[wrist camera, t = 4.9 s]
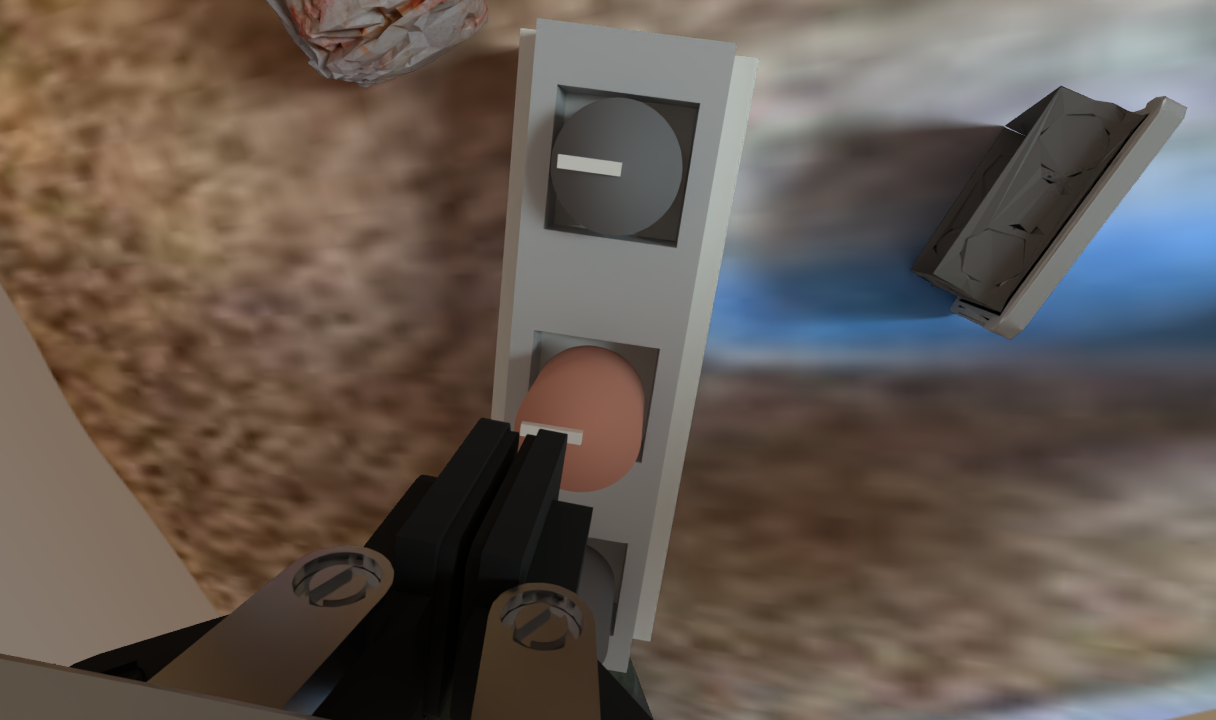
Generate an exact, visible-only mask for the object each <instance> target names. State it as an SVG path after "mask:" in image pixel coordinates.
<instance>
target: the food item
mask: <svg viewBox="0 0 1216 720" xmlns="http://www.w3.org/2000/svg"><path fill="white" fill-rule="evenodd" d="M267 2H268V3H269V4H270V5H271V6H272V8H273V9H274V10H275V12H276V13H277V14H278V16H279V18H280V20H281V21H282V23H283V25H284V27H285V28H286V30H287V32H288V33H289V35H290V36H291V38H292V39H293V40H294V42H295V43H296V44H297V45H298V46H299V47H300V48H301V49H302V51H303V52H304V53H305V54H306V55H307V56H308V57H309V58H310V61H309V62H308V64H309V65H310V66H311V67H312V68H314V69H315V70H316V71H317V72H318V73H319V74H320V75H321V76H323V77H326V78H328V79H329V78H332V79H336V80H338V79H341V80H344V81H347V82H348V81H349V82H356V83H357V84H358V85H359V86H362V87H366V88H367V87H370V86H372V85H373V84H374V83H380V82H382V81H385V80H389V79H393V78H396V77H397V76H399V75H401V74H405V73H409V72H412V71H414V70H416V69H418V68H420V67H422V66H424V65H426V64H428V63H430V62H432V61H434V60H436V59H437V58H439V57H440V56H441V55H442V54H444V53H445V52H447V51H448V50H450V49H451V48H453V47H454V46H456V45H457V44H459V43H460V42H462V41H464V40H466V39H468V38H470V37H471V36H472V35H473V34H474V33H475V32H476V31H478V30H479V29H480V28H481V27H482V26H483V25H484V24H485V23H486V22H487V21H488V20H487V11H488V8H487V5H486V2H485V0H267Z"/></svg>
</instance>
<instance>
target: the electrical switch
mask: <svg viewBox="0 0 1216 720" xmlns="http://www.w3.org/2000/svg"><path fill="white" fill-rule="evenodd" d="M1186 110H1187V107H1185V106H1183V105H1181V104H1179V103H1177V102H1175V101H1174V100H1172V99H1170V98H1168V97H1166V96H1163V97H1156V98H1154V99H1153V100H1151V101H1150V102H1148V103H1147V105H1146V108H1144V109H1142V110H1139V111H1136V112H1130V111H1127V110H1125V109H1123V108H1121V107H1120V106H1118V105H1116V104H1114V103H1109V102H1102V101H1095V100H1093V99H1090V98H1088V97H1086V96H1084V95H1081V94H1079V93H1077V92H1074V91H1072V90H1070V89H1067V88H1065V87H1063V86H1060V87H1059V88H1057V89H1056V90H1054V91H1053V92H1052V93H1050V94H1049V95H1047V96H1046V97H1045V98H1043V99H1042V100H1040V101H1039V102H1038V103H1036V104H1035V105H1033V106H1032V107H1031V108H1029V109H1028V110H1026V111H1025V112H1024V113H1022V114H1021V115H1019V116H1018V117H1017V118H1015V119H1014V120H1012V121H1011V122H1010V123H1008V124H1007V125H1005V126H1006V127H1009V128H1011V129H1013V130H1015V131H1017V132H1019V133H1021V134H1023V135H1021V134H1019V133H1017V132H1014V131H1012V130H1009V129H1007V128H1005V129H1004V130H1003V131H1002V133H1001V134H1000V136H999V137H998V139H997V140H996V142H995V143H994V145H993V146H992V148H991V149H990V151H989V152H988V154H987V155H986V157H985V158H984V160H983V161H982V163H981V164H980V166H979V167H978V169H977V170H976V172H975V173H974V174H973V176H972V177H971V179H970V180H969V182H968V183H967V185H966V186H965V188H964V189H963V191H962V192H961V194H960V195H959V197H958V198H957V200H956V201H955V203H954V204H953V206H952V207H951V209H950V210H949V212H948V213H947V215H946V216H945V218H944V219H943V221H942V222H941V224H940V225H939V227H938V228H937V230H936V231H935V233H934V234H933V236H932V237H931V239H930V240H929V242H928V243H927V245H926V246H925V248H924V249H923V251H922V252H921V254H920V255H919V257H918V258H917V260H916V261H915V263H914V264H913V266H912V268H911V270H910V271H912V270H913V271H912V272H913V273H915V274H916V275H918V276H920V277H922V278H923V279H925V280H927V281H929V282H931V286H934V287H939V288H941V289H943V290H945V291H947V292H949V293H951V294H953V295H955V296H957V298H956V299H955V301H954V302H953V304H952V307H951V310H950V311H951V312H952V313H954V314H957V315H959V316H962V317H964V318H966V319H969V320H971V321H973V322H975V323H977V324H979V325H981V326H983V328H985V329H988V330H989V331H991V332H993V333H996V334H998V335H1000V336H1003V337H1005V338H1008V339H1010V340H1011V339H1012V338H1014V337H1015V336H1016V335H1018V334H1019V333H1020V332H1021V331H1023V330H1024V328H1025V327H1026V326H1027V324H1028V323H1029V322H1030V320H1031V319H1032V318H1033V316H1034V315H1035V314H1036V312H1037V311H1038V310H1039V308H1040V307H1041V306H1042V305H1043V303H1044V302H1045V301H1046V299H1047V298H1048V297H1049V295H1050V294H1051V293H1052V291H1053V290H1054V289H1055V287H1056V286H1057V285H1058V283H1059V282H1060V281H1061V280H1062V278H1063V277H1064V276H1065V274H1066V273H1067V272H1068V270H1069V269H1070V268H1071V266H1072V265H1073V264H1074V262H1075V261H1076V260H1077V259H1078V257H1079V256H1080V255H1081V253H1082V252H1083V251H1084V249H1085V248H1086V247H1087V245H1088V244H1089V243H1090V241H1091V240H1092V239H1093V237H1094V236H1095V235H1096V234H1097V232H1098V231H1099V230H1100V228H1101V227H1102V226H1103V224H1104V223H1105V222H1106V220H1107V219H1108V218H1109V216H1110V215H1111V214H1112V212H1113V211H1114V210H1115V209H1116V207H1117V206H1118V205H1119V203H1120V202H1121V201H1122V199H1123V198H1124V197H1125V195H1126V194H1127V193H1128V191H1129V190H1130V189H1131V187H1132V186H1133V185H1134V184H1135V182H1136V181H1137V180H1138V178H1139V177H1140V176H1141V174H1142V173H1143V172H1144V170H1145V169H1146V168H1147V166H1148V165H1149V164H1150V163H1151V161H1152V160H1153V159H1154V157H1155V156H1156V155H1157V153H1158V152H1159V151H1160V149H1161V148H1162V147H1163V145H1164V144H1165V143H1166V141H1167V140H1168V139H1169V138H1170V136H1171V135H1172V134H1173V132H1174V131H1175V130H1176V128H1177V127H1178V126H1179V124H1180V123H1181V122H1182V120H1183V119H1184V117H1185V113H1186ZM1024 135H1025V136H1024ZM985 171H986V172H985ZM984 172H985V175H984V177H983V173H984ZM987 191H988V192H987ZM950 229H954V230H952V231H951V232H949V233H947V232H948V231H949V230H950ZM936 244H937V250H936V246H935V245H936Z"/></svg>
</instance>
